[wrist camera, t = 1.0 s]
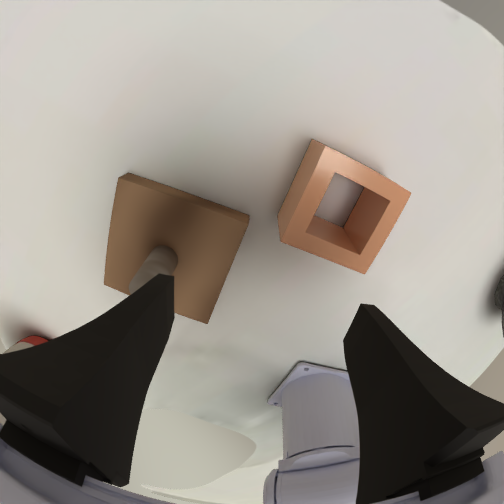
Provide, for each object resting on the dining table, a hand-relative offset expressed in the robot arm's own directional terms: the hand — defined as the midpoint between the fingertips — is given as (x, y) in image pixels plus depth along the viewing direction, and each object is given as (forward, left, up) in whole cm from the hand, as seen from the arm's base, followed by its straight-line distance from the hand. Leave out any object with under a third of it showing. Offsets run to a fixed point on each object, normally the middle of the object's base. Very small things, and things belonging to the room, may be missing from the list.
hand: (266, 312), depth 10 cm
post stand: (+6, +5, -10) cm, 12 cm away
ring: (-3, -3, -10) cm, 11 cm away
